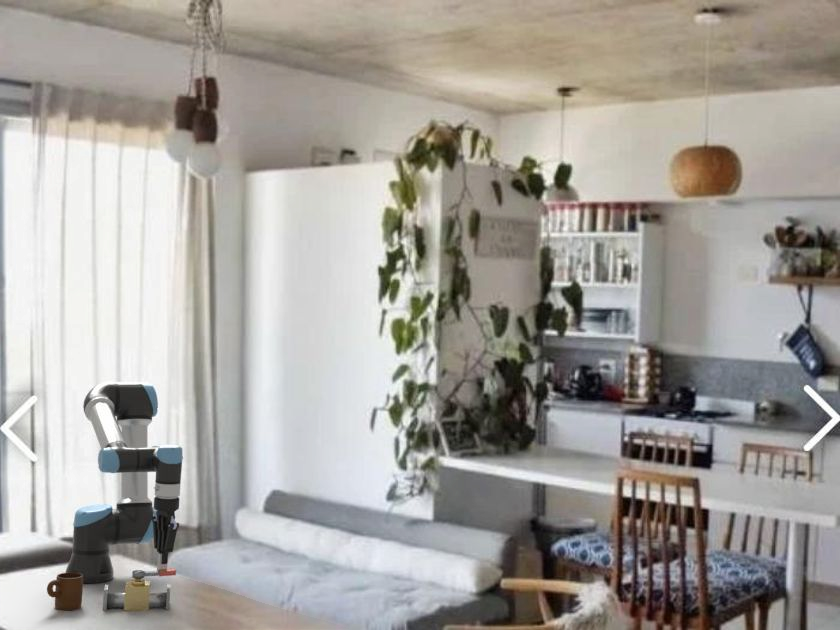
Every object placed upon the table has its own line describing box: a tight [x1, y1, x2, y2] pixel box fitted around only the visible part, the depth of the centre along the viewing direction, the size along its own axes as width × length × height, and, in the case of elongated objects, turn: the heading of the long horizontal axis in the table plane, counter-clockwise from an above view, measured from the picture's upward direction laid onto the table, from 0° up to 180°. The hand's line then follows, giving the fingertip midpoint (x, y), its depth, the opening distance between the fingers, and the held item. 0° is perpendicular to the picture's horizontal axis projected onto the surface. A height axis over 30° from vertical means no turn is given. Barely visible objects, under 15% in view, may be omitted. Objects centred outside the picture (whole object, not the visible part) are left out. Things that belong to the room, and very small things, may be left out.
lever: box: [131, 568, 177, 579], centre depth 313 cm, size 13×4×2 cm, turn 120°
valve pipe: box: [102, 578, 172, 612], centre depth 311 cm, size 9×20×9 cm, turn 104°
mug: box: [46, 572, 84, 611], centre depth 305 cm, size 12×8×9 cm, turn 152°
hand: (161, 573), depth 316 cm, fingers closed
